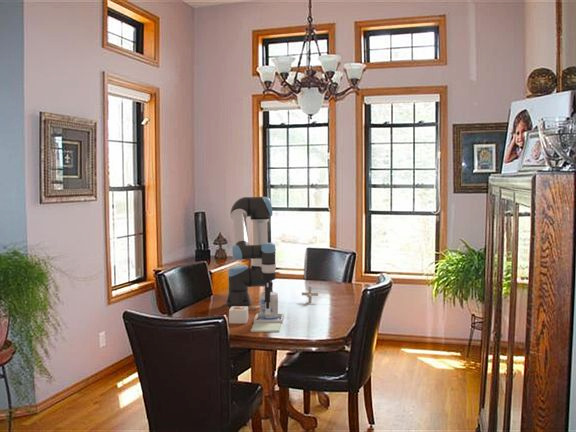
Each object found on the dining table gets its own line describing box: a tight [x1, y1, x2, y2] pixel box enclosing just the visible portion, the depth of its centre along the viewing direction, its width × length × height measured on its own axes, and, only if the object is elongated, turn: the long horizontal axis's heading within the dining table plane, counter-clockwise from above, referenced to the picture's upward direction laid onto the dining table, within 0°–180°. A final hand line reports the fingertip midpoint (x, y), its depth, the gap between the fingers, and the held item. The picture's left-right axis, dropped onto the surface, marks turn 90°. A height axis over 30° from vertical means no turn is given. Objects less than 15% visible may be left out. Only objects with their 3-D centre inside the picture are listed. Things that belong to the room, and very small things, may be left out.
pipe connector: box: [301, 285, 319, 304], centre depth 349 cm, size 10×10×10 cm
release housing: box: [228, 306, 249, 324], centre depth 304 cm, size 9×9×7 cm
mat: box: [250, 322, 282, 333], centre depth 289 cm, size 14×14×1 cm
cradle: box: [253, 312, 285, 325], centre depth 305 cm, size 15×15×2 cm
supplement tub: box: [259, 291, 279, 320], centre depth 305 cm, size 10×10×15 cm
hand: (269, 311), depth 305 cm, fingers open, 13 cm apart
